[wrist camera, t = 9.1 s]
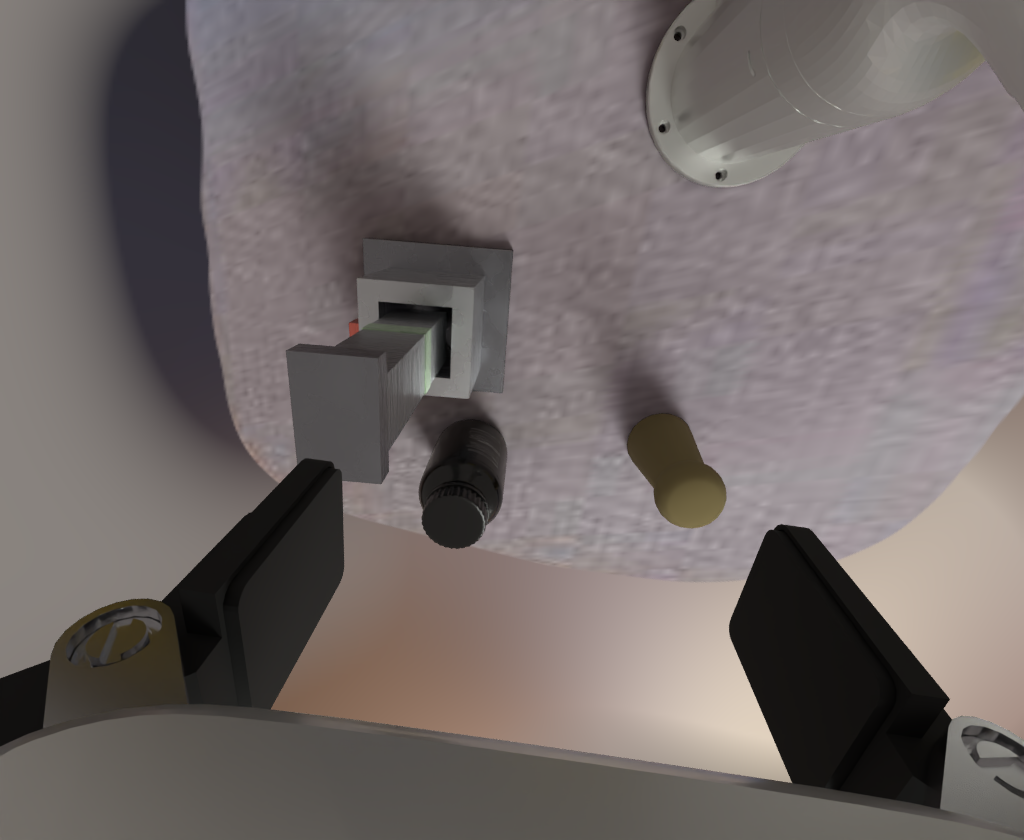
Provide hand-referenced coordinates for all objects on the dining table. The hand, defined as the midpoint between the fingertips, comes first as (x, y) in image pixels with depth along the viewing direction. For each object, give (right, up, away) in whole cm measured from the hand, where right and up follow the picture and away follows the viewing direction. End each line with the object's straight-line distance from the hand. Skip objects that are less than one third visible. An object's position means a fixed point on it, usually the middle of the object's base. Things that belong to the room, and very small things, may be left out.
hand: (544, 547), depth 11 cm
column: (-7, +9, +25) cm, 27 cm away
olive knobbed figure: (+13, +1, +35) cm, 37 cm away
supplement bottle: (-5, 0, +36) cm, 36 cm away
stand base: (-7, +12, +31) cm, 34 cm away
